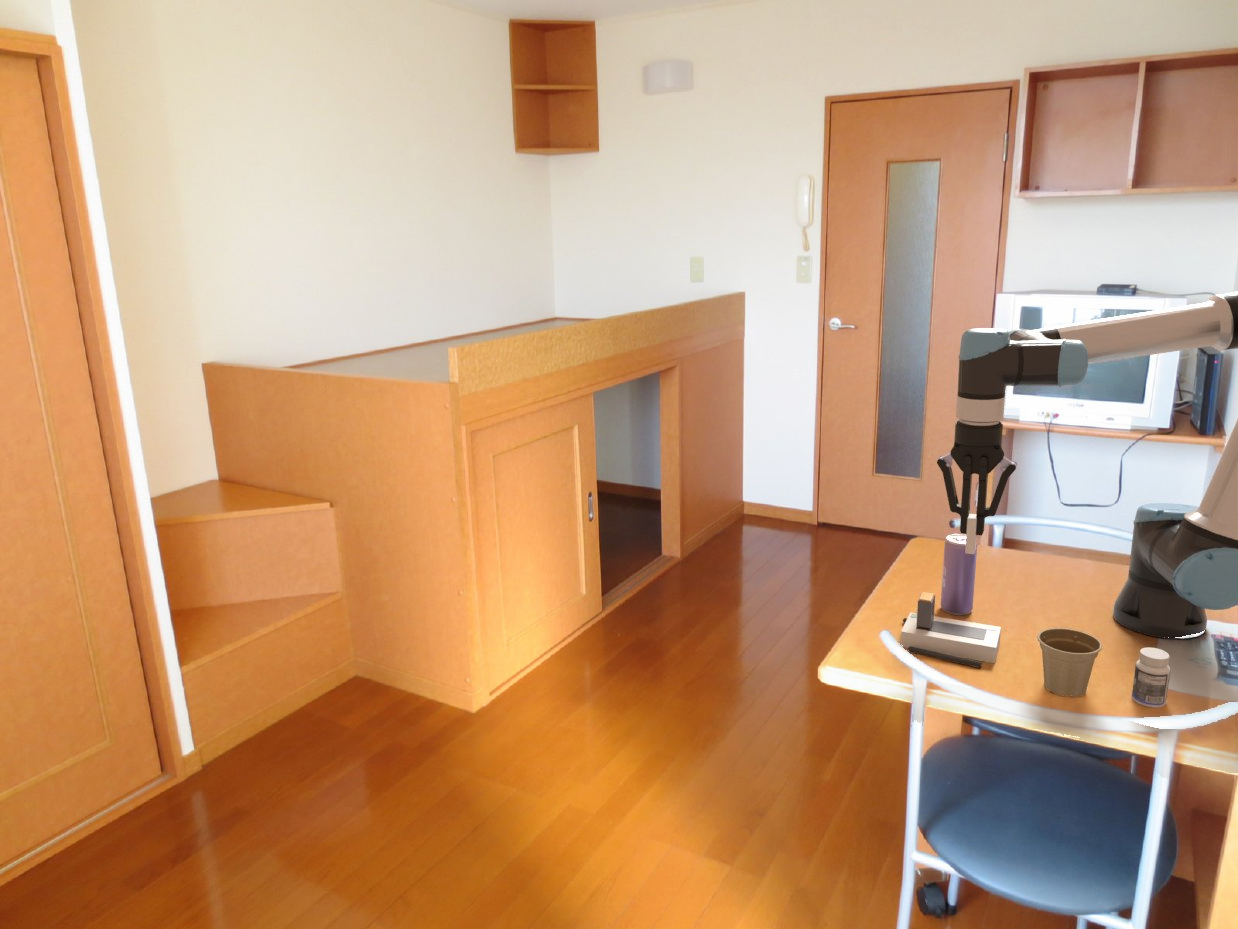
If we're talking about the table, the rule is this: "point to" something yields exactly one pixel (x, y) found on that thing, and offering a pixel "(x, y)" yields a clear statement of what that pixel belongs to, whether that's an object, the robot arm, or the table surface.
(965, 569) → the beverage can
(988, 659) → the white slider switch base
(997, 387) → the robot arm
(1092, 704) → the table surface
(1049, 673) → the flower pot
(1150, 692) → the pill bottle
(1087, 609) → the table surface
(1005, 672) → the table surface
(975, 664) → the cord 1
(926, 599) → the lever
